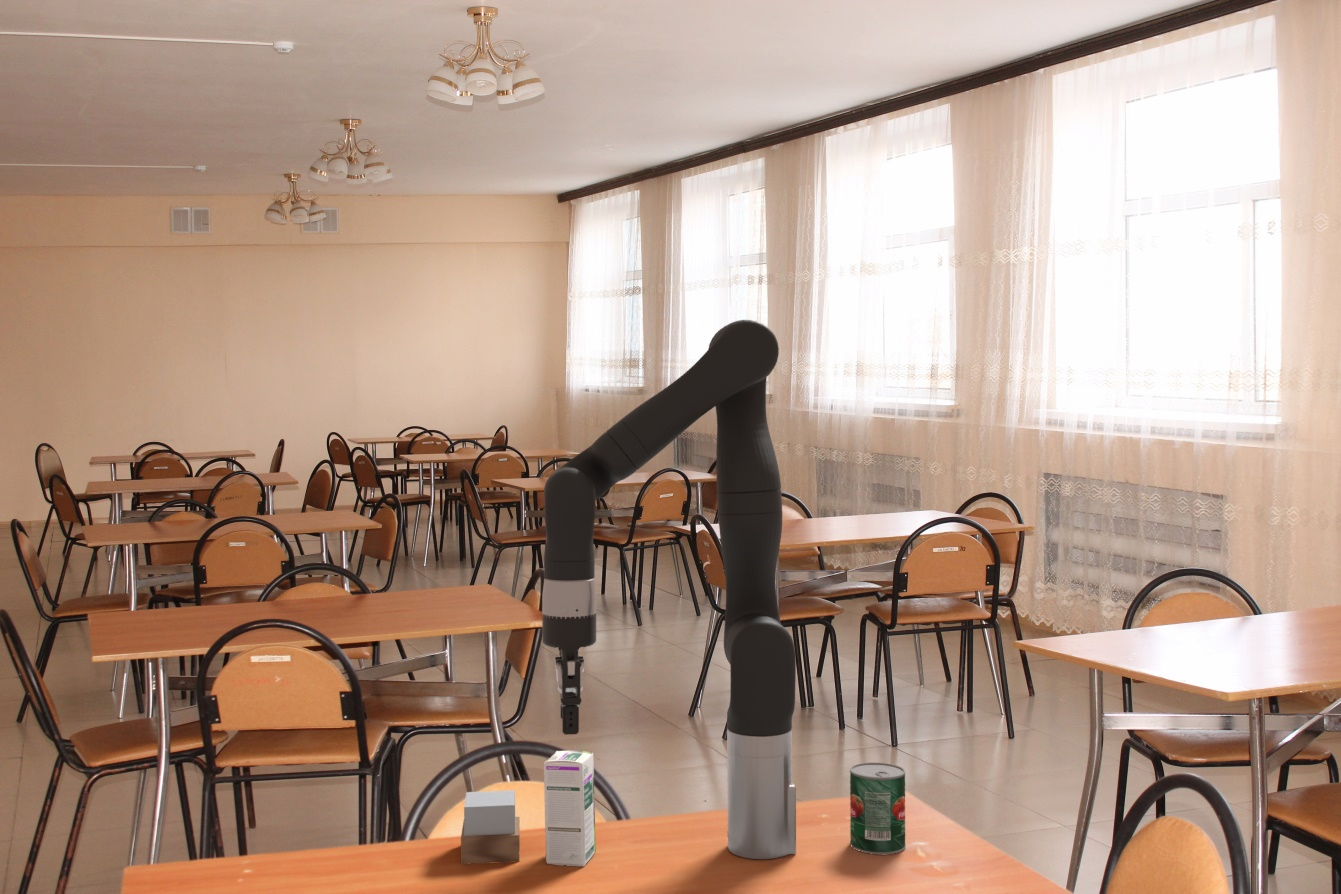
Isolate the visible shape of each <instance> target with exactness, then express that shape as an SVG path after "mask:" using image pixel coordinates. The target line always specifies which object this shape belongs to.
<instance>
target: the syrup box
mask: <svg viewBox="0 0 1341 894" xmlns="http://www.w3.org/2000/svg"><path fill="white" fill-rule="evenodd" d="M594 768H595V764H594V752H591V751H583V750H555V752H554V754H552V755H551V756H550V757H549V758H547V759H546V761H544V762H543V780H544V781H543V789H544V827H545V829H544V830H545V861H546V862H545V863H547V865H555V866H564V865H566V867H567V866H568V867H583V868H584V867H585V866H586V865H587V863H588V862H589V861H590V860H591V859H592V858H593V857H594V854H595V853H596V850H597V847H596V845H597V844H596V840H597V839H596V813H595V811H596V807H595V806H596V803H595V802H596V801H595V799H596V798H595V773H594V772H595V771H594V770H595V769H594Z"/></svg>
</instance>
